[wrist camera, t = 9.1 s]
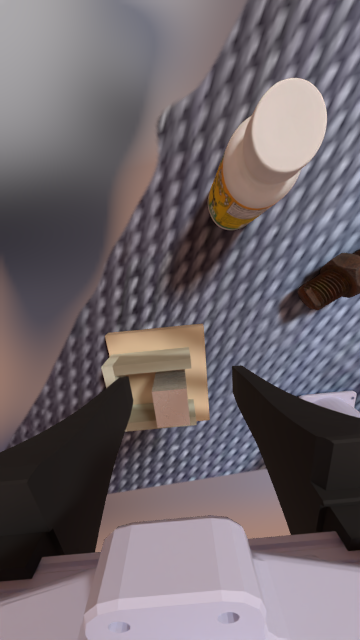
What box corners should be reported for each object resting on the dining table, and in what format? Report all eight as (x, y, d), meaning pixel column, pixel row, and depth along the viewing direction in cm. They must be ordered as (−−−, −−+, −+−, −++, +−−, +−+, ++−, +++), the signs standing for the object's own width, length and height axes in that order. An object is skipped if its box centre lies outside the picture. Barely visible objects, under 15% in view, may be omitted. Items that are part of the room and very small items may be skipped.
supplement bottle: (247, 236, 19) (315, 199, 10) (201, 225, 19) (225, 175, 9) (263, 180, 18) (360, 76, 8) (214, 167, 17) (257, 42, 8)
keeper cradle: (208, 414, 25) (214, 439, 21) (127, 421, 25) (118, 448, 21) (202, 323, 21) (207, 334, 18) (108, 333, 22) (93, 345, 18)
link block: (187, 393, 23) (190, 424, 18) (161, 395, 23) (157, 427, 18) (184, 363, 22) (186, 388, 17) (157, 365, 22) (151, 391, 17)
